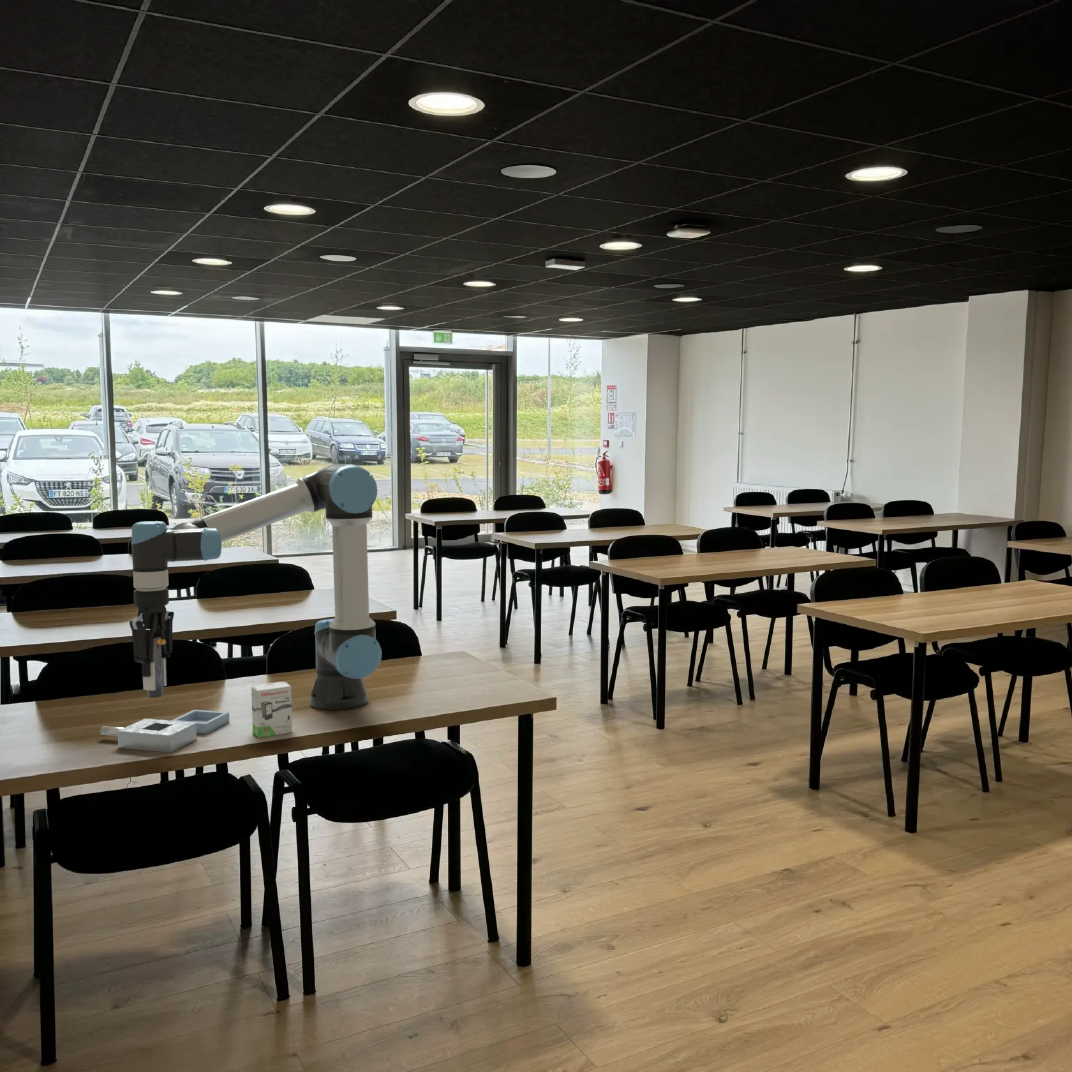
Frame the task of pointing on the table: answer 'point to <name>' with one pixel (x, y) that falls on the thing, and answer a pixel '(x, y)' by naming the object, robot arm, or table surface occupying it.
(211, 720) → the parts tray
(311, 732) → the table surface
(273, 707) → the ink box
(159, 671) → the pin
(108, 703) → the table surface
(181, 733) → the block
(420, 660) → the table surface
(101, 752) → the table surface
